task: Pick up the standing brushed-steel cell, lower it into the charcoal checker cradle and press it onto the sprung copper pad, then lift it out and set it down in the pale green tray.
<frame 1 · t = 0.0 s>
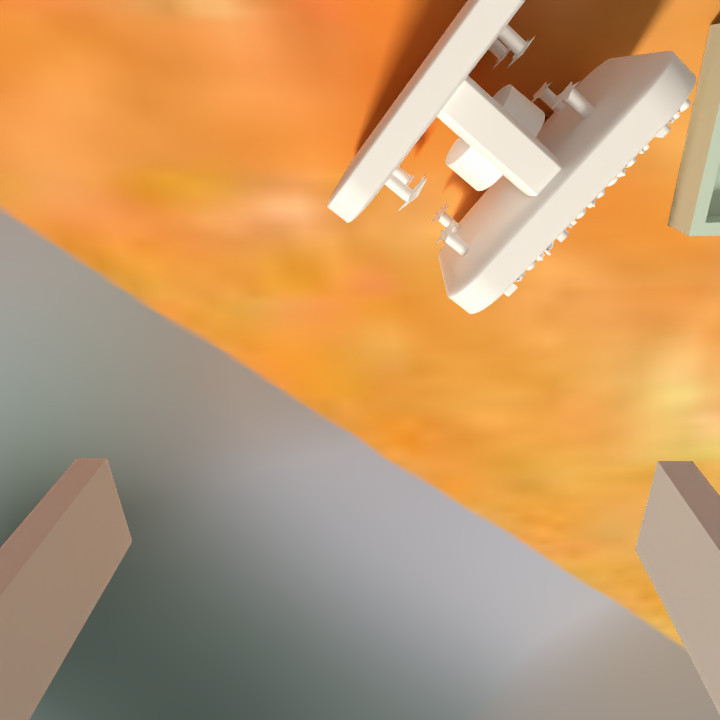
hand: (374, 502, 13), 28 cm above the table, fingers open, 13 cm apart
cable organizer: (475, 131, 35), on the table
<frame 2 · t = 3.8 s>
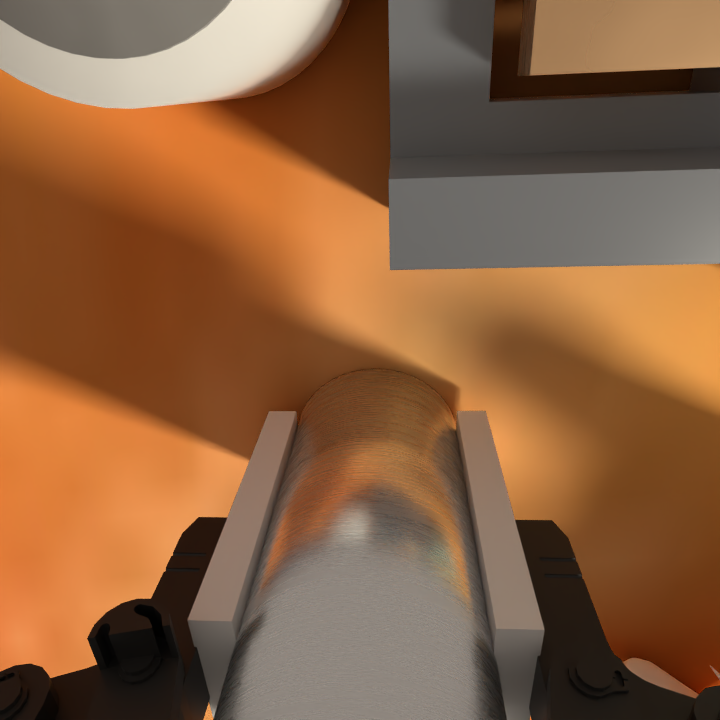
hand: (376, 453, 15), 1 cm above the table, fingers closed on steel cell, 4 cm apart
steel cell: (376, 439, 16), on the table, touching gripper
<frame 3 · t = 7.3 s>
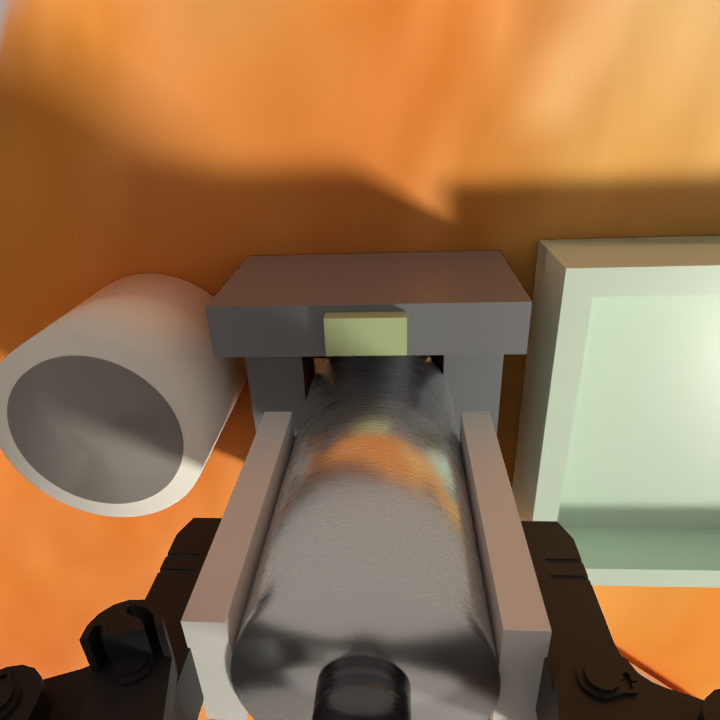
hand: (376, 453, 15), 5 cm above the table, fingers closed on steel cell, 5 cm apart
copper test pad: (374, 399, 18), point 2 cm above the table, slide at -1.4 cm, touching steel cell
checker cradle: (375, 377, 19), on the table
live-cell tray: (689, 399, 19), on the table
steel cell: (379, 405, 18), point 2 cm above the table, touching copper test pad, gripper
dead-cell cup: (164, 354, 20), on the table
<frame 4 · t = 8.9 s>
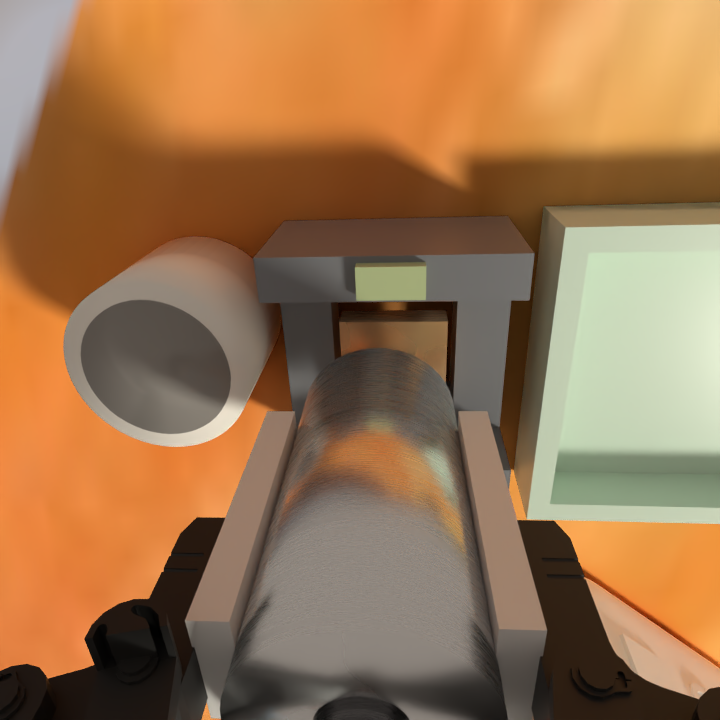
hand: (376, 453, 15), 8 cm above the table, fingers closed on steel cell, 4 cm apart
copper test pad: (393, 362, 19), point 3 cm above the table, slide at -0.4 cm
checker cradle: (395, 332, 22), on the table
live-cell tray: (679, 354, 21), on the table
steel cell: (379, 414, 17), point 6 cm above the table, touching gripper
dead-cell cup: (207, 310, 22), on the table
cable organizer: (589, 658, 30), on the table
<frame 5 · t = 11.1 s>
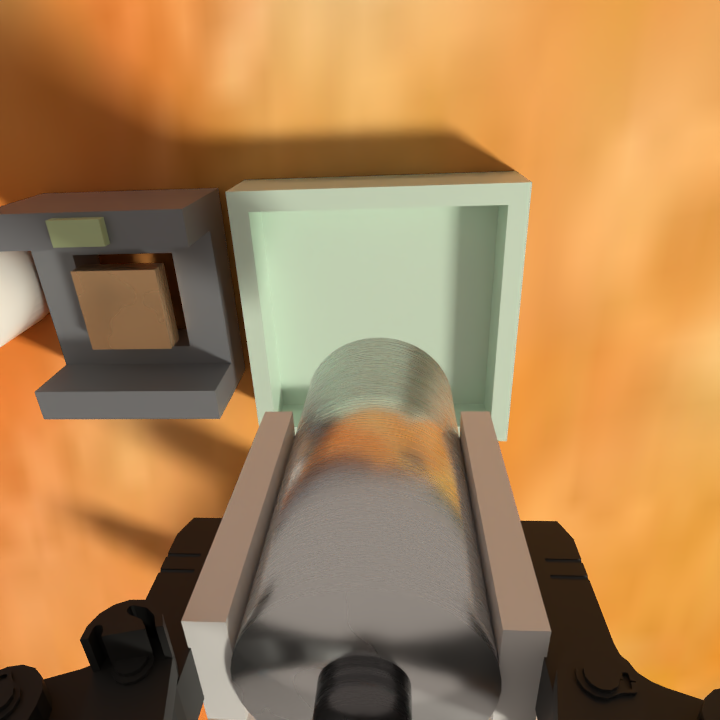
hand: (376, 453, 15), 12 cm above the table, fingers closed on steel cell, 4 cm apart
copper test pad: (127, 307, 24), point 3 cm above the table, slide at -0.4 cm
checker cradle: (151, 287, 26), on the table
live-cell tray: (380, 303, 26), on the table
steel cell: (379, 402, 17), point 9 cm above the table, touching gripper
when the fingers open (3 cm above the table, at t = 12.6 s): steel cell stays where it is, resting on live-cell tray.
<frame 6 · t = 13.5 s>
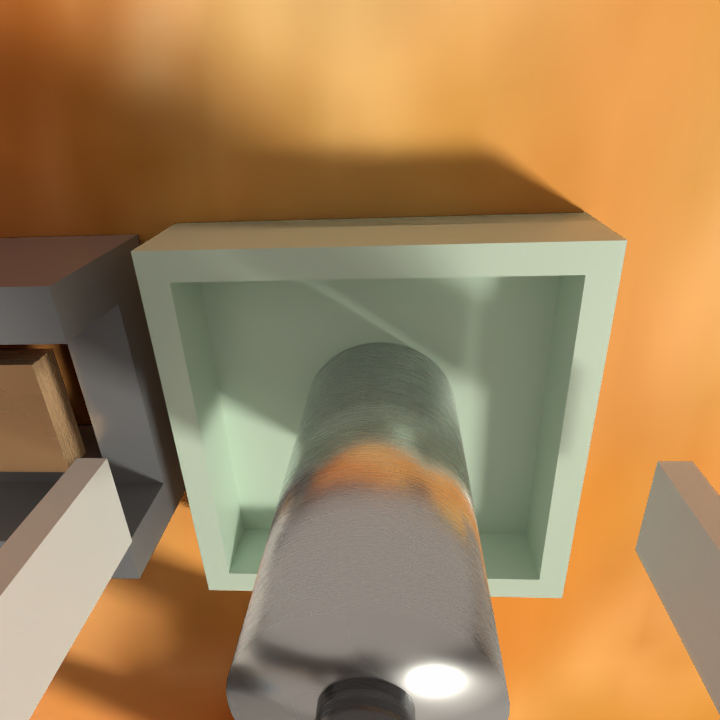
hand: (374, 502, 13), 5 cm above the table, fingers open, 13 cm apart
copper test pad: (2, 411, 16), point 3 cm above the table, slide at -0.4 cm
checker cradle: (52, 370, 18), on the table
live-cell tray: (380, 395, 18), on the table
steel cell: (380, 408, 17), point 1 cm above the table, touching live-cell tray
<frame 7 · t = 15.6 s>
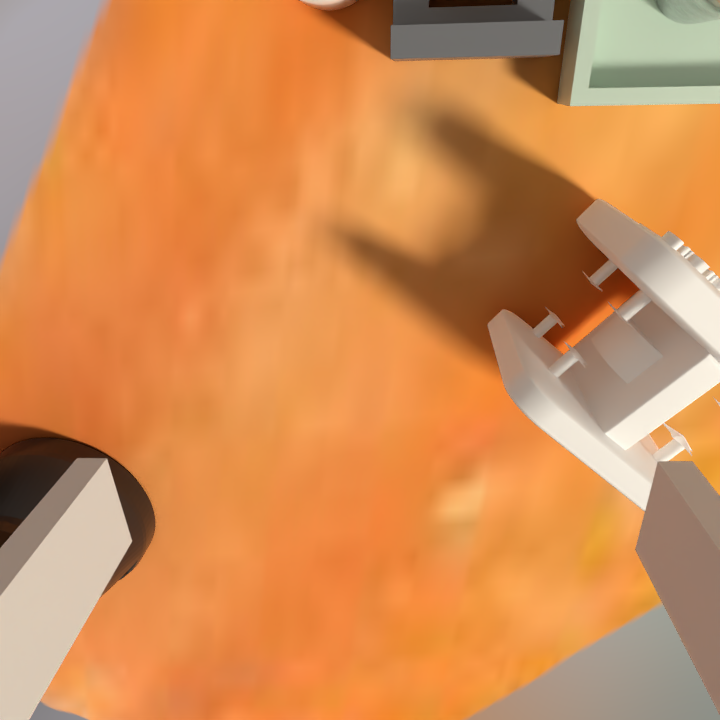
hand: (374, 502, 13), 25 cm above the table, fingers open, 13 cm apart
cable organizer: (608, 318, 37), on the table
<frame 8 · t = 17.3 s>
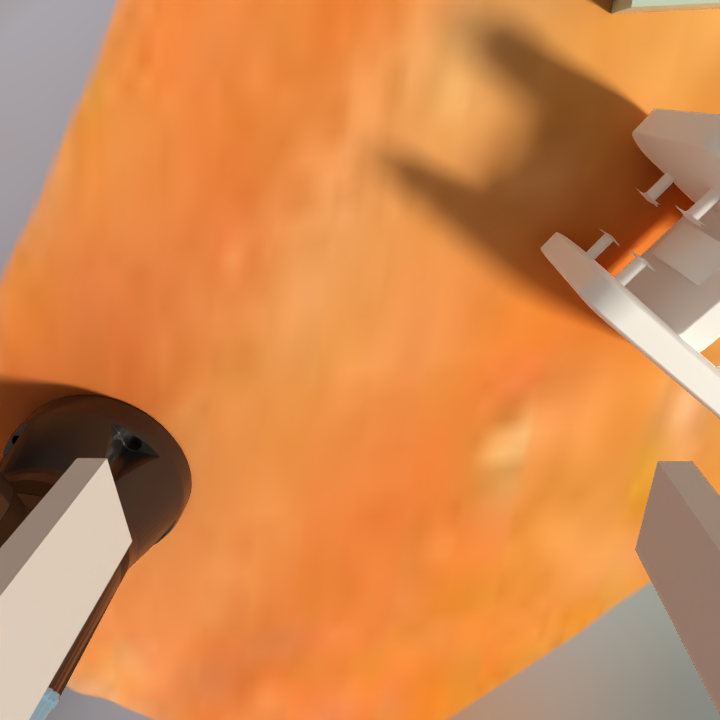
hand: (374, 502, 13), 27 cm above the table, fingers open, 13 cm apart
cable organizer: (658, 242, 37), on the table
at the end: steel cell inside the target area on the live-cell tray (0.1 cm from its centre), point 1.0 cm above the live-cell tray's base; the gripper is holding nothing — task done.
